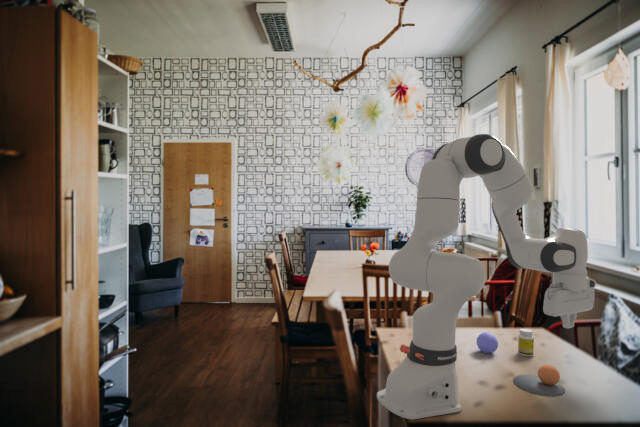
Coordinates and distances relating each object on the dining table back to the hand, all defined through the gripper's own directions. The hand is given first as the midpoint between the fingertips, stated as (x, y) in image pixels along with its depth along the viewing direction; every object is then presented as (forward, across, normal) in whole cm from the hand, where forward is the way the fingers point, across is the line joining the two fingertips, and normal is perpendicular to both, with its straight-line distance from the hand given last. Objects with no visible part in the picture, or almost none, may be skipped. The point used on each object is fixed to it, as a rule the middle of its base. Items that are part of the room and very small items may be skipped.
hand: (568, 327), depth 119 cm
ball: (+12, -10, -1) cm, 16 cm away
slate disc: (+15, -14, 0) cm, 20 cm away
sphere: (+15, -6, +24) cm, 29 cm away
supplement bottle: (+15, +5, +17) cm, 24 cm away
